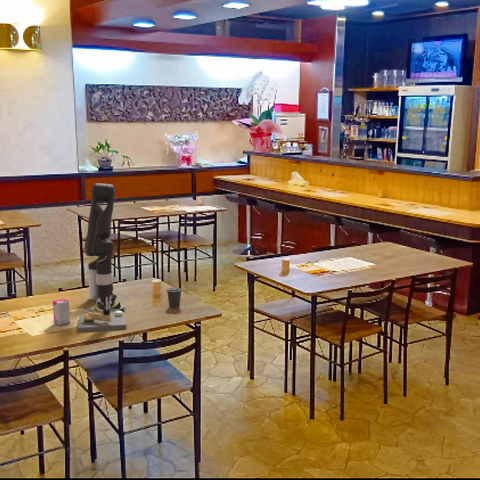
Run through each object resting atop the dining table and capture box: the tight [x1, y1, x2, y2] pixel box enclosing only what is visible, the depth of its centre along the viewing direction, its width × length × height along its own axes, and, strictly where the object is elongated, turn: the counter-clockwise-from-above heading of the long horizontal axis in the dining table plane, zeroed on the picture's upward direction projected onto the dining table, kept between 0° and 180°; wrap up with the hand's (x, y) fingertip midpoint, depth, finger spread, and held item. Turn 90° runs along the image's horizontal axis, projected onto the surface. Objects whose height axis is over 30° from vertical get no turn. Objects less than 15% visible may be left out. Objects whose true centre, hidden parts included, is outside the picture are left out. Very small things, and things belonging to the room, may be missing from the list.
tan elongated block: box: [83, 311, 111, 322], centre depth 291 cm, size 5×14×4 cm, turn 67°
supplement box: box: [52, 298, 71, 327], centre depth 295 cm, size 6×6×12 cm
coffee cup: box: [166, 287, 183, 309], centre depth 321 cm, size 8×8×10 cm
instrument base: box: [77, 310, 127, 333], centre depth 295 cm, size 18×22×4 cm
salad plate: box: [86, 300, 127, 314], centre depth 314 cm, size 19×18×5 cm
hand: (106, 316), depth 293 cm, fingers closed
